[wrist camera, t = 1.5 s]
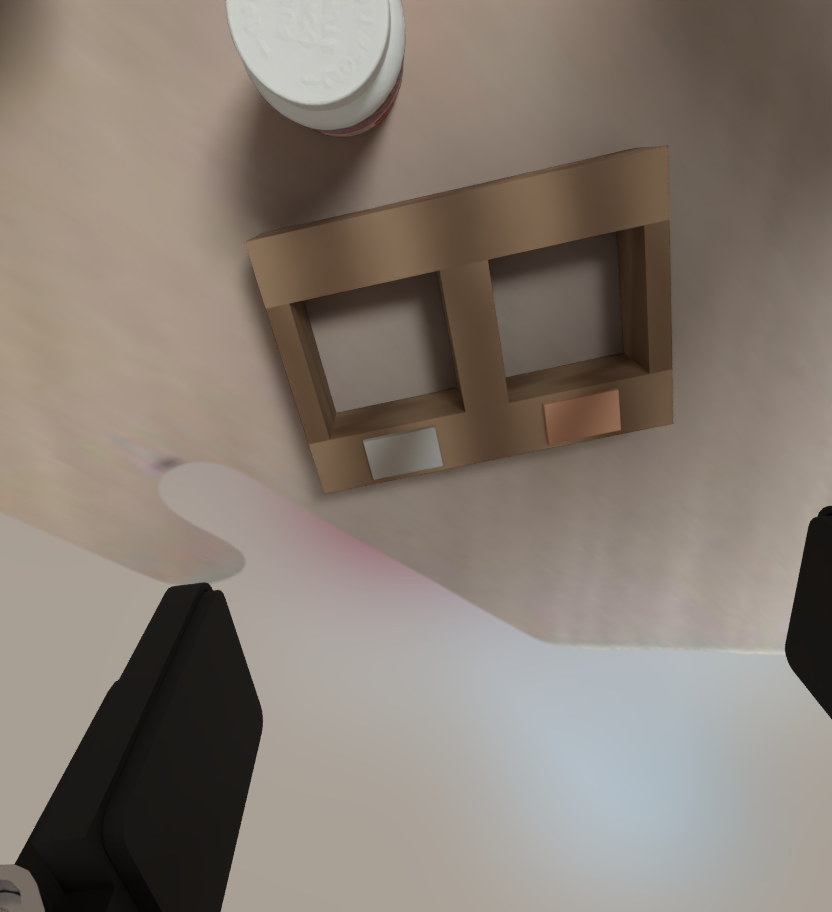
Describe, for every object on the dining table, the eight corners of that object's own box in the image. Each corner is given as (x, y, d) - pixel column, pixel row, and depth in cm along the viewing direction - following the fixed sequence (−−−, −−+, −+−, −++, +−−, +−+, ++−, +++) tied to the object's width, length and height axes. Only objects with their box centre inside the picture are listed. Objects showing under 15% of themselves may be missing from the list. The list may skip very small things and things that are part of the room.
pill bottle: (425, 36, 28) (444, -37, 18) (366, 162, 31) (354, 161, 20) (306, -45, 27) (254, -173, 17) (253, 94, 29) (179, 55, 19)
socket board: (635, 148, 31) (670, 145, 27) (645, 398, 37) (675, 425, 33) (261, 233, 32) (243, 242, 28) (331, 462, 38) (323, 496, 34)
